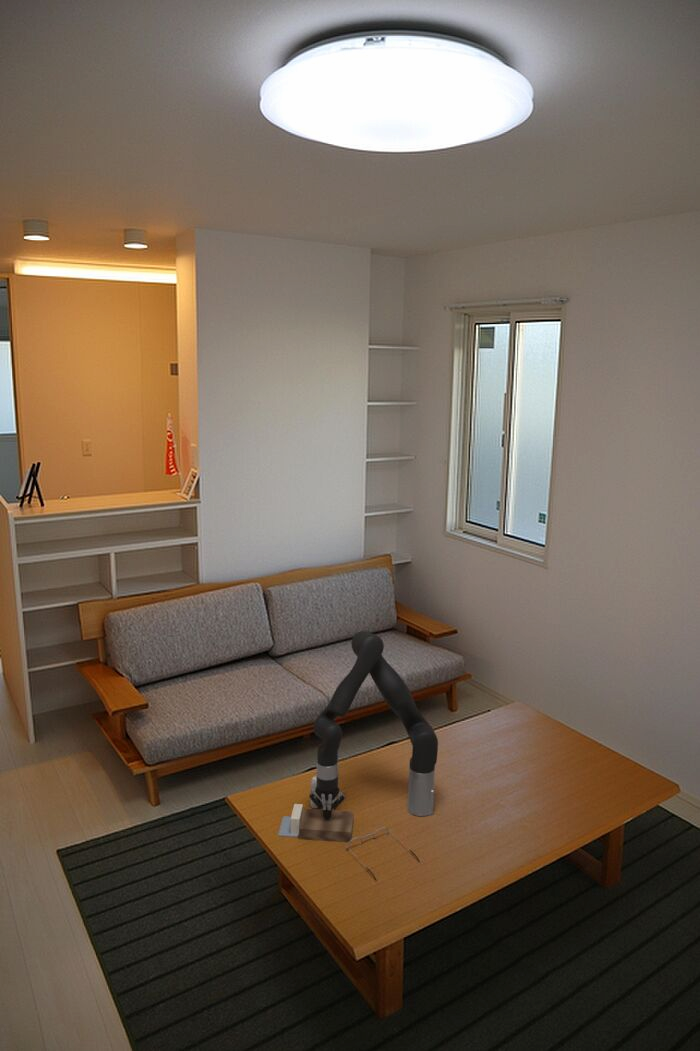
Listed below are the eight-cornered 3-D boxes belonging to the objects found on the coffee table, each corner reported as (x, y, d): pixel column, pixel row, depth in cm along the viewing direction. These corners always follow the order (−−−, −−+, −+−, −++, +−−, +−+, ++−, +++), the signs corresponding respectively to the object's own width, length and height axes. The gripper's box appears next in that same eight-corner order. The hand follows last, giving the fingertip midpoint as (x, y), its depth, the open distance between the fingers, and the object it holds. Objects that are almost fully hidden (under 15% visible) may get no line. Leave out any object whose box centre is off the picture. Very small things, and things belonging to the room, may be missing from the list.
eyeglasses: (388, 833, 266) (388, 823, 265) (421, 865, 251) (421, 855, 250) (344, 850, 257) (345, 840, 256) (376, 884, 241) (376, 874, 240)
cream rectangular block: (302, 804, 271) (294, 803, 271) (299, 819, 262) (290, 818, 262) (302, 819, 272) (294, 818, 272) (299, 834, 263) (290, 834, 263)
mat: (302, 818, 273) (302, 817, 273) (298, 837, 262) (298, 836, 262) (283, 817, 274) (283, 816, 273) (278, 835, 263) (278, 835, 263)
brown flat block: (353, 821, 272) (353, 811, 271) (351, 842, 260) (351, 832, 259) (303, 818, 273) (303, 808, 272) (299, 839, 261) (299, 828, 260)
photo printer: (331, 796, 287) (332, 767, 284) (338, 802, 283) (338, 772, 281) (308, 804, 281) (308, 774, 279) (314, 810, 278) (314, 780, 275)
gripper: (347, 768, 265) (346, 812, 269) (309, 766, 266) (309, 810, 270) (345, 780, 258) (345, 825, 262) (307, 778, 259) (307, 823, 263)
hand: (327, 817), depth 266 cm, fingers closed
